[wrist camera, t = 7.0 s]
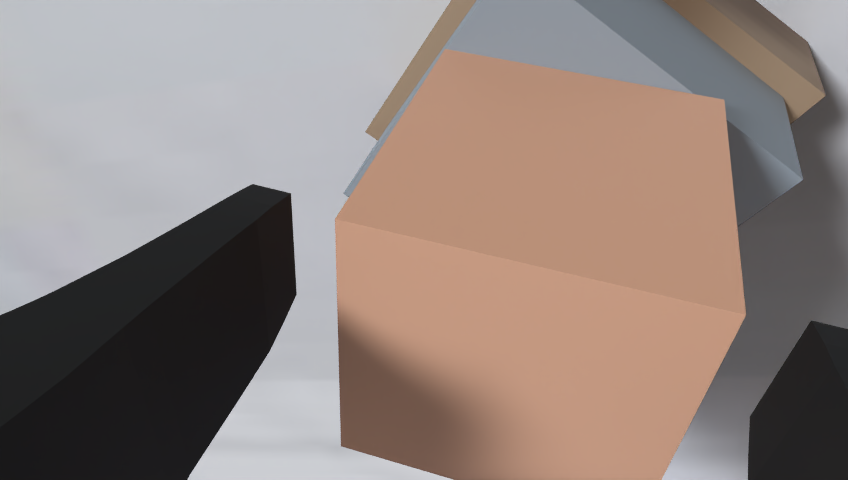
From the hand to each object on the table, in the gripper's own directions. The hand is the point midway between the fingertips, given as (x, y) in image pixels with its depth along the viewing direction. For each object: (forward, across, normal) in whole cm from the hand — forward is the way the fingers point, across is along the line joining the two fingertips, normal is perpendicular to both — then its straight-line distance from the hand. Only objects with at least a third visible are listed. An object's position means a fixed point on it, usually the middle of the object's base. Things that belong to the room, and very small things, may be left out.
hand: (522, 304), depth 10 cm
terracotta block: (+4, 0, 0) cm, 4 cm away
